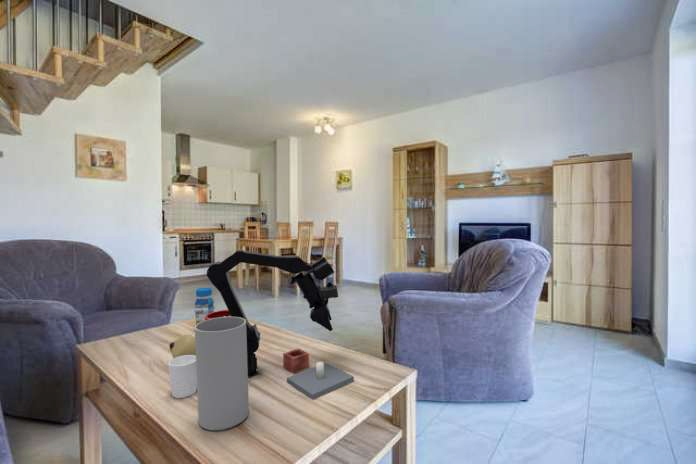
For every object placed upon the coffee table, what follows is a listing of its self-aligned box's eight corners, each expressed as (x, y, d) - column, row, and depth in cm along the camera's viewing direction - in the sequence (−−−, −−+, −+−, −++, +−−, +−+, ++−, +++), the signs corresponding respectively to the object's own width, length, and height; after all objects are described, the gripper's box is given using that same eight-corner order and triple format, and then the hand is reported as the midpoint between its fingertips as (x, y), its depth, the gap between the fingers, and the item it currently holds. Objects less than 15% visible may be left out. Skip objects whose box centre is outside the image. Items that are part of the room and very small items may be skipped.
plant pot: (226, 333, 155) (225, 307, 154) (244, 339, 147) (243, 312, 146) (199, 342, 144) (198, 314, 144) (217, 349, 136) (216, 319, 136)
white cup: (179, 402, 97) (178, 368, 97) (164, 395, 101) (162, 362, 101) (204, 390, 104) (202, 358, 104) (188, 383, 108) (187, 353, 108)
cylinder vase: (198, 437, 81) (194, 335, 80) (198, 410, 93) (194, 320, 92) (252, 424, 86) (248, 327, 85) (245, 400, 98) (243, 314, 97)
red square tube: (293, 373, 114) (292, 358, 114) (283, 367, 119) (283, 353, 118) (309, 367, 118) (308, 353, 118) (298, 361, 123) (298, 348, 123)
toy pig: (190, 354, 131) (189, 327, 131) (208, 361, 125) (207, 333, 124) (164, 364, 123) (163, 335, 123) (183, 372, 116) (181, 341, 116)
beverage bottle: (218, 331, 158) (216, 288, 158) (200, 335, 152) (198, 291, 151) (210, 327, 164) (208, 286, 163) (192, 331, 158) (190, 289, 157)
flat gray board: (312, 399, 97) (312, 379, 97) (286, 382, 108) (286, 363, 108) (353, 381, 108) (353, 362, 108) (326, 366, 118) (326, 350, 118)
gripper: (330, 283, 109) (353, 324, 111) (328, 270, 127) (348, 305, 130) (299, 300, 109) (323, 340, 111) (302, 285, 127) (323, 319, 130)
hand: (330, 325), depth 120 cm, fingers open, 9 cm apart
